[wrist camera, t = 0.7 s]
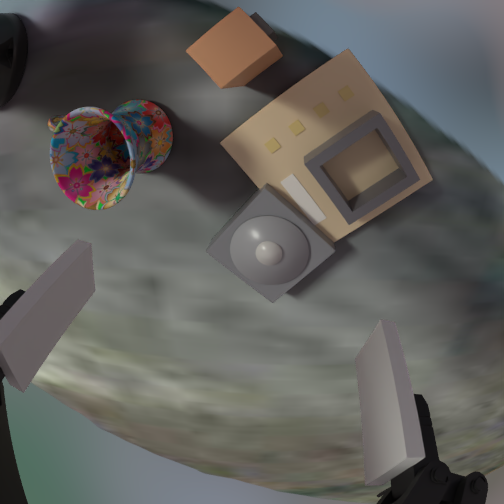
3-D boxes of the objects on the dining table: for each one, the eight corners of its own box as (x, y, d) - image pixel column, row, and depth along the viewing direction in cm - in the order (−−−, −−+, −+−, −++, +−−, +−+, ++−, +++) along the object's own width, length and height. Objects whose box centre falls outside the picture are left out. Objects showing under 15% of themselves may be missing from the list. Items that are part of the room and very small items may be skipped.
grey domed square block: (212, 238, 38) (204, 254, 35) (267, 179, 34) (264, 190, 31) (274, 288, 41) (272, 306, 38) (333, 237, 36) (336, 254, 33)
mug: (194, 120, 31) (152, 140, 22) (156, 188, 36) (111, 229, 27) (109, 72, 29) (48, 79, 20) (81, 139, 34) (23, 166, 25)
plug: (218, 58, 28) (185, 50, 19) (261, 24, 25) (245, 1, 17) (244, 85, 29) (221, 88, 20) (287, 52, 27) (283, 40, 18)
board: (222, 140, 32) (212, 149, 29) (346, 49, 26) (353, 44, 22) (313, 249, 37) (313, 269, 34) (429, 176, 31) (443, 189, 27)
